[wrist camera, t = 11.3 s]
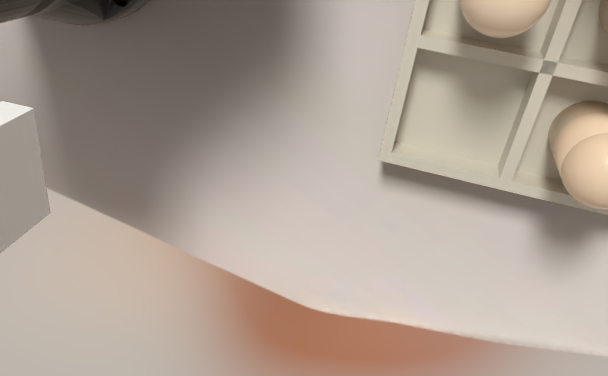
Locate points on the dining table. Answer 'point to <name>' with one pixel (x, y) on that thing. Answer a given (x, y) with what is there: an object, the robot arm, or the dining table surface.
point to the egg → (582, 151)
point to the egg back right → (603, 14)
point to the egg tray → (494, 96)
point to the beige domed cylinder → (503, 15)
